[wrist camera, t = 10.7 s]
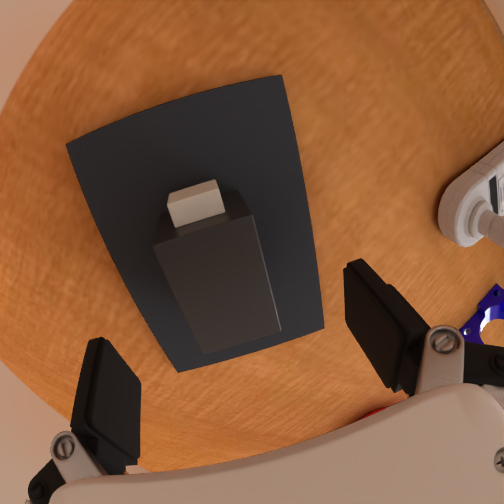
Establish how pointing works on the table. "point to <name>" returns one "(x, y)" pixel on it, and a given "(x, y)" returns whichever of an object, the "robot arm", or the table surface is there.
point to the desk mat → (228, 179)
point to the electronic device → (475, 202)
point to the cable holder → (484, 315)
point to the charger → (216, 266)
